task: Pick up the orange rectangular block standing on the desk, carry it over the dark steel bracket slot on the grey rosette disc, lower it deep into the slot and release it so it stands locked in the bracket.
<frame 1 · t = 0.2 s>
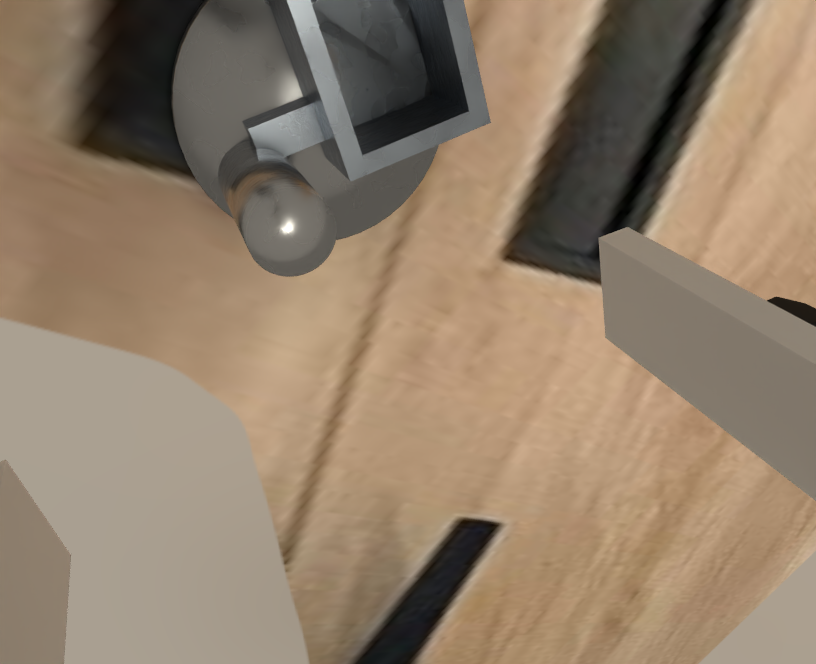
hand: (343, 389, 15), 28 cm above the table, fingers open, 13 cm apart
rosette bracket: (311, 106, 40), on the table
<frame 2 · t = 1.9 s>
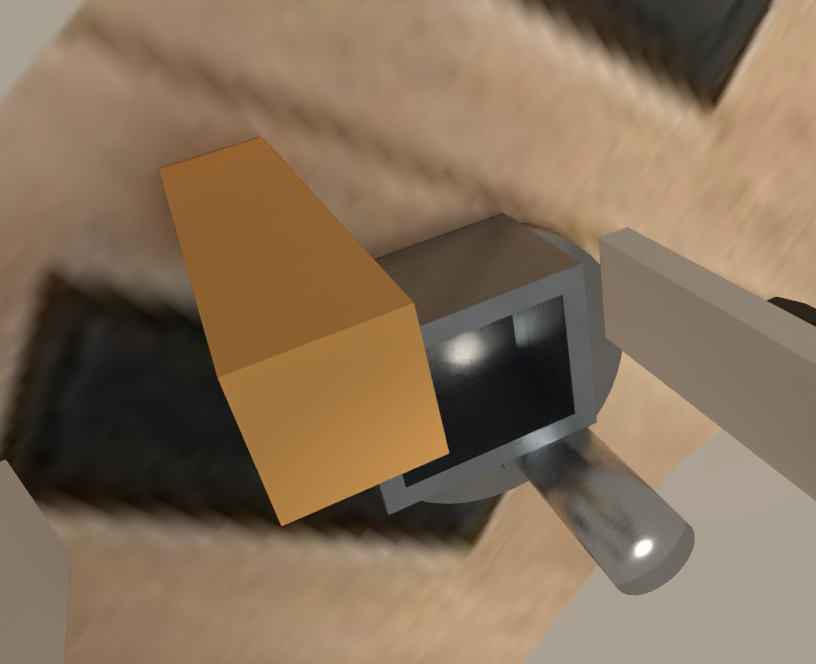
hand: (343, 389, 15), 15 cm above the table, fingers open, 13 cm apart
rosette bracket: (479, 364, 36), on the table
orange rectangular block: (228, 201, 28), on the table
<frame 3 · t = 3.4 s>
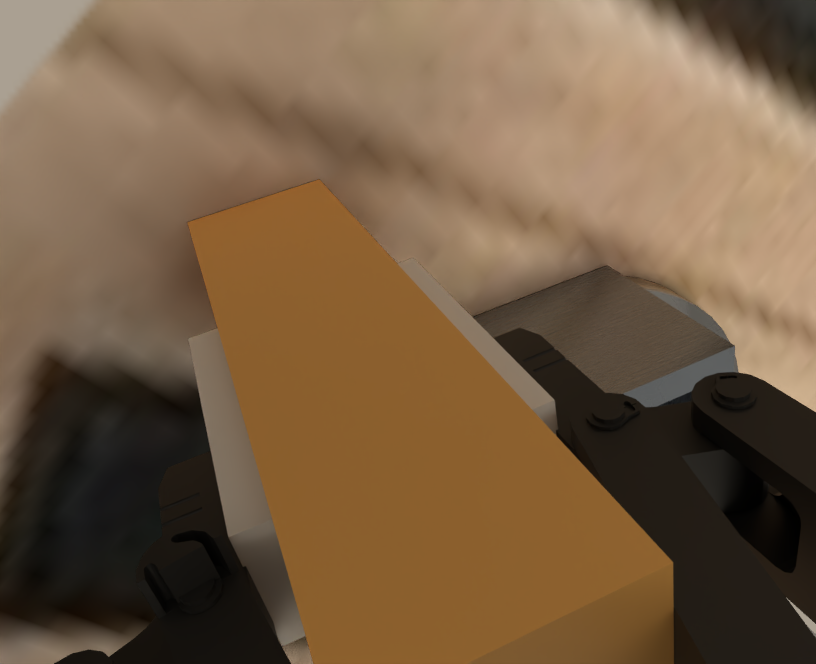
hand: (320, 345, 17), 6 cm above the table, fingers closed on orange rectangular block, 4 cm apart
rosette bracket: (565, 442, 30), on the table
orange rectangular block: (275, 260, 22), on the table, touching gripper
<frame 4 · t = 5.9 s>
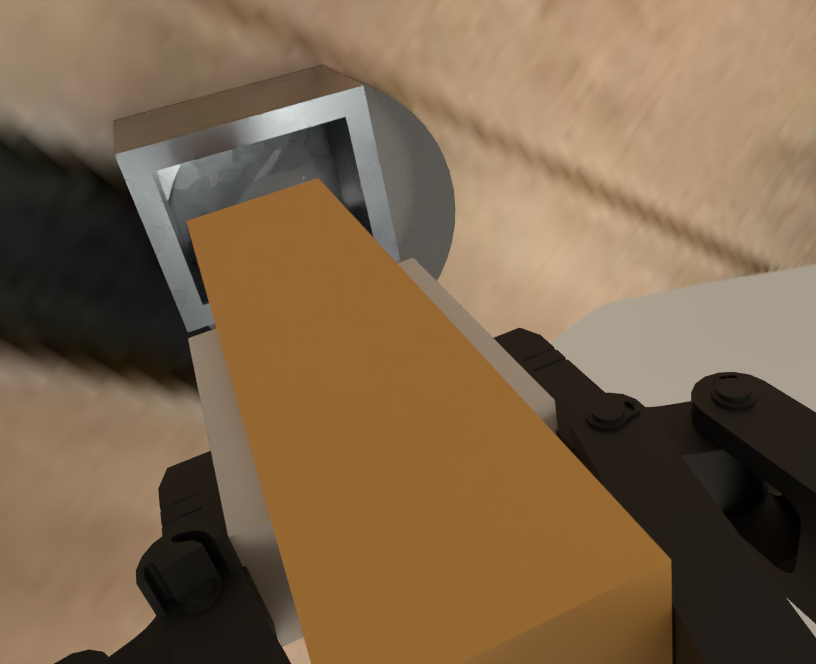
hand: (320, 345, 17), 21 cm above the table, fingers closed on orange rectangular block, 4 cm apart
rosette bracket: (313, 222, 38), on the table
orange rectangular block: (274, 259, 22), point 15 cm above the table, touching gripper
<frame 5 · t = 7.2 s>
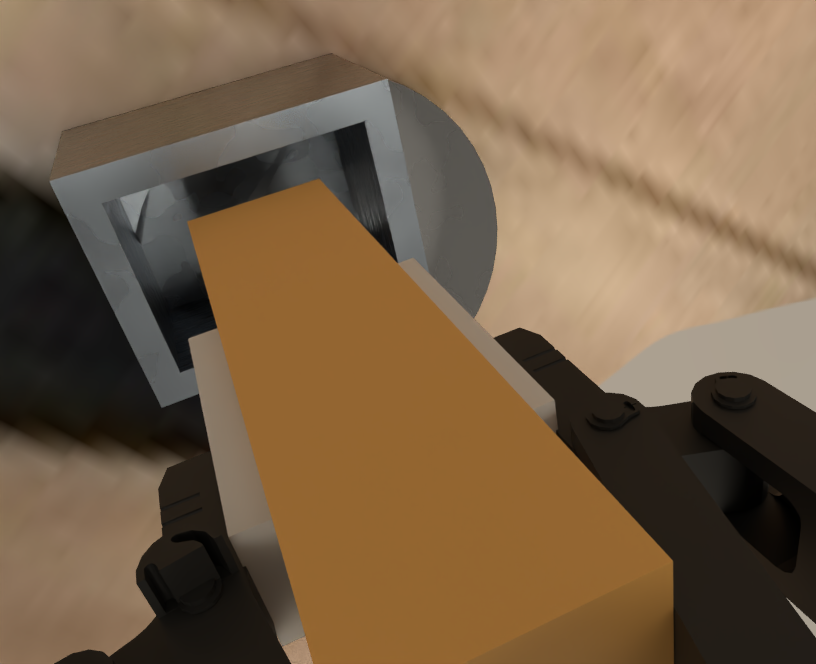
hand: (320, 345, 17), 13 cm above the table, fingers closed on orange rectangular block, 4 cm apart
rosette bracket: (321, 251, 30), on the table
orange rectangular block: (274, 260, 22), point 7 cm above the table, touching gripper
when the fingers open (8 cm above the table, at t = 8.4 s): orange rectangular block stays where it is, resting on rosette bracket.
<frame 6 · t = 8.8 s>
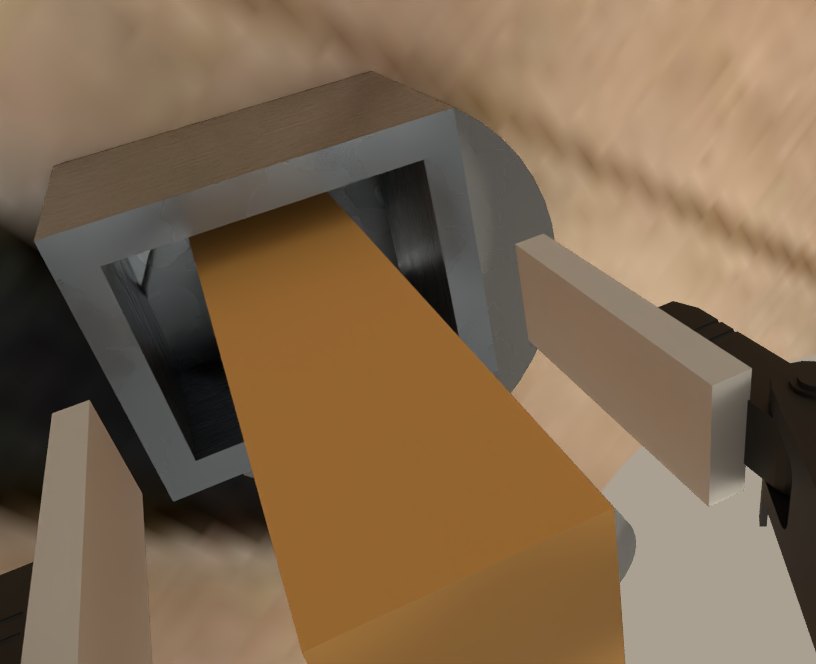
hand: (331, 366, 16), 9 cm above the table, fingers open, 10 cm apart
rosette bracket: (355, 298, 26), on the table
orange rectangular block: (266, 250, 23), point 1 cm above the table, touching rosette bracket
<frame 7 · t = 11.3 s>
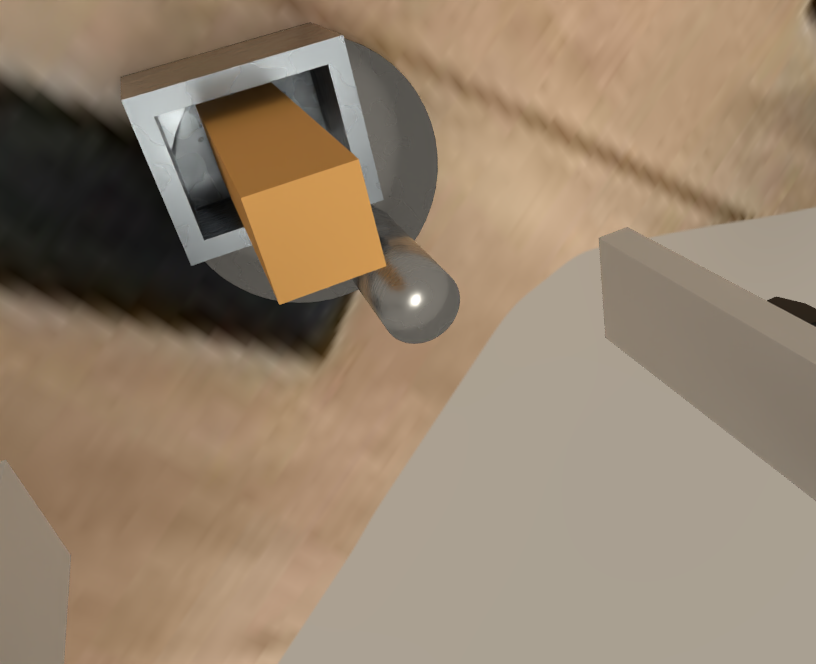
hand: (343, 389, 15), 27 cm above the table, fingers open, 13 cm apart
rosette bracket: (306, 172, 41), on the table
orange rectangular block: (246, 131, 37), point 1 cm above the table, touching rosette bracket
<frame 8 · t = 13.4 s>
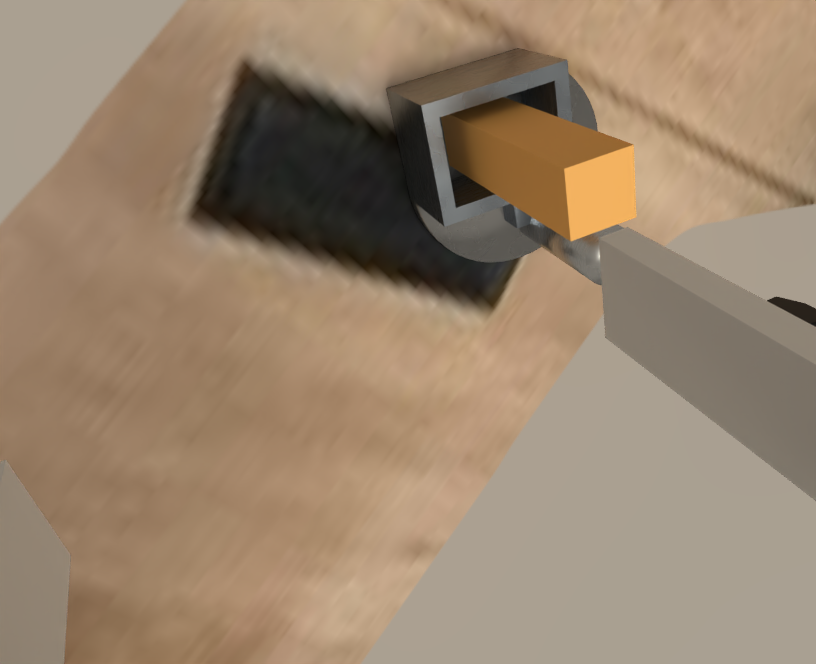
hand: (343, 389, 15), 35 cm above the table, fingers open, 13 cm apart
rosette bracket: (500, 161, 53), on the table
orange rectangular block: (470, 129, 50), point 1 cm above the table, touching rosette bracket
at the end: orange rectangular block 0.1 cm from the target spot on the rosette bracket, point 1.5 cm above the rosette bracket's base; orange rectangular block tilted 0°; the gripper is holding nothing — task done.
